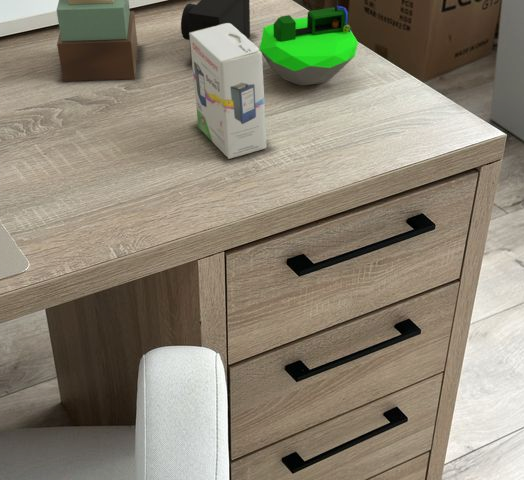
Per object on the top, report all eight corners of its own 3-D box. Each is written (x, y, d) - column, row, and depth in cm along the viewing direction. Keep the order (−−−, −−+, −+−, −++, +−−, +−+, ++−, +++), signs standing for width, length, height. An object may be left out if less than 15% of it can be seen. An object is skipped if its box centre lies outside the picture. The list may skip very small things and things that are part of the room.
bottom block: (63, 81, 119) (56, 43, 116) (69, 50, 126) (64, 13, 123) (135, 79, 120) (130, 41, 116) (137, 47, 126) (134, 10, 123)
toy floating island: (333, 51, 125) (337, -33, 117) (368, 91, 117) (375, 3, 109) (246, 65, 122) (244, -20, 115) (276, 108, 114) (276, 18, 106)
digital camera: (213, 31, 130) (210, -20, 125) (250, 36, 128) (249, -15, 124) (182, 63, 123) (178, 10, 118) (221, 70, 121) (219, 16, 117)
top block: (61, 41, 116) (56, 9, 114) (67, 14, 122) (62, -17, 120) (126, 39, 117) (123, 7, 114) (130, 12, 123) (126, -19, 120)
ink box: (267, 150, 107) (266, 49, 99) (226, 161, 105) (221, 60, 97) (233, 116, 112) (230, 19, 104) (193, 127, 111) (187, 29, 103)
